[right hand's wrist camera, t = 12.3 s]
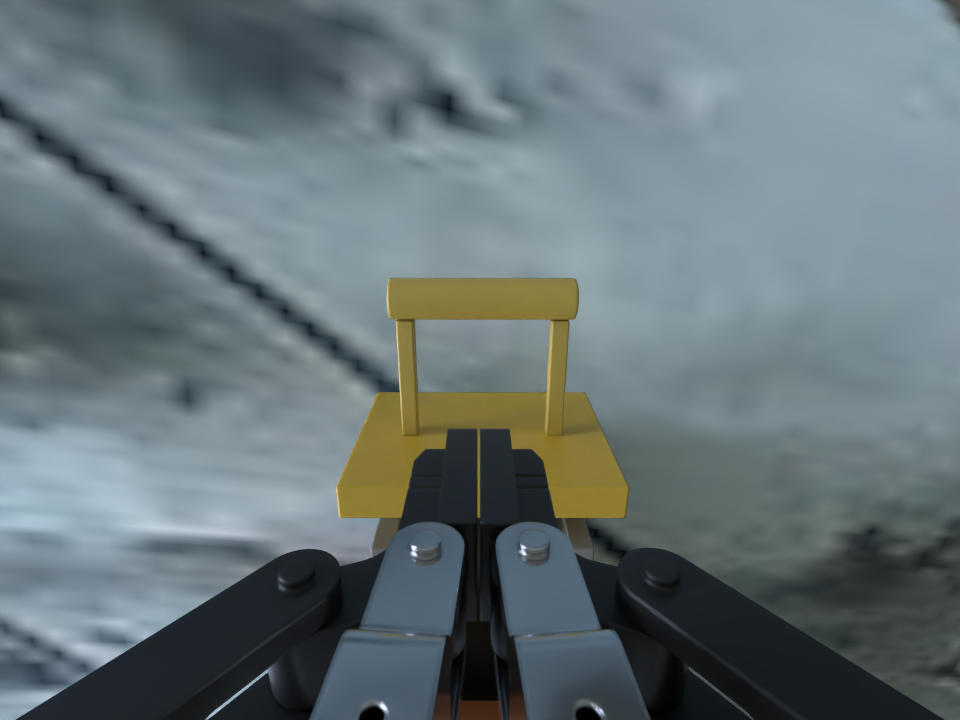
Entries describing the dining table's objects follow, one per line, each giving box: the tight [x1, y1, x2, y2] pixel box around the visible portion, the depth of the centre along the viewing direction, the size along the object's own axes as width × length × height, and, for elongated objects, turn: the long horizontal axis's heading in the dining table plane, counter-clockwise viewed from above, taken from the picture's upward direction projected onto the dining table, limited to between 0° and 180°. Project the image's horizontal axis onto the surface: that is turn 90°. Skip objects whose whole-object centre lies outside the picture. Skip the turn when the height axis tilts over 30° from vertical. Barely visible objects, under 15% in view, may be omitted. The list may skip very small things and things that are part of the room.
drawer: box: [336, 278, 629, 701], centre depth 22 cm, size 25×9×7 cm, turn 0°
